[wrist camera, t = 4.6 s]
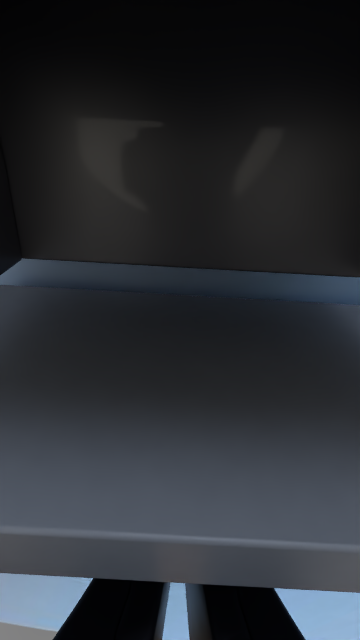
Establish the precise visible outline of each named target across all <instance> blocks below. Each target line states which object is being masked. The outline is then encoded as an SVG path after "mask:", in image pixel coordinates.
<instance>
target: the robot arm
mask: <svg viewBox="0 0 360 640" xmlns="http://www.w3.org/2000/svg"><path fill="white" fill-rule="evenodd" d="M185 587H186V600H187V612H188V625H189V637H190V640H305V638H304V637H303V635H302V633H301V632H300V630H299V629H298V627H297V626H296V624H295V622H294V621H293V619H292V618H291V616H290V614H289V613H288V611H287V609H286V608H285V606H284V604H283V603H282V601H281V599H280V598H279V596H278V594H277V593H276V591H275V589H274V588H265V587H247V586H229V585H211V584H193V583H185ZM169 588H170V582H156V581H138V580H120V579H102V578H93V580H92V581H91V583H90V584H89V586H88V588H87V589H86V591H85V592H84V594H83V595H82V597H81V599H80V600H79V602H78V603H77V605H76V606H75V608H74V609H73V611H72V612H71V614H70V615H69V617H68V618H67V620H66V621H65V622H64V624H63V625H62V627H61V628H60V630H59V631H58V633H57V634H56V636H55V637H54V639H53V640H162V636H163V629H164V622H165V615H166V608H167V602H168V595H169Z"/></svg>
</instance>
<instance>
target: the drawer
mask: <svg viewBox="0 0 360 640" xmlns="http://www.w3.org/2000/svg"><path fill="white" fill-rule="evenodd" d="M22 258H25V259H43V260H60V261H78V262H95V263H113V264H131V265H148V266H166V267H184V268H201V269H219V270H237V271H254V272H272V273H290V274H307V275H325V276H342V277H360V0H0V275H1V274H3V273H4V272H5V271H7V270H8V269H9V268H11V267H12V266H13V265H15V264H16V263H17V262H19V261H20V260H21V259H22ZM0 573H11V574H29V575H47V576H66V577H84V578H102V579H120V580H138V581H156V582H174V583H193V584H211V585H229V586H247V587H265V588H283V589H301V590H320V591H338V592H356V593H360V305H351V304H333V303H316V302H298V301H280V300H263V299H245V298H227V297H209V296H192V295H174V294H156V293H139V292H121V291H103V290H86V289H68V288H50V287H33V286H15V285H0Z"/></svg>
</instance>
